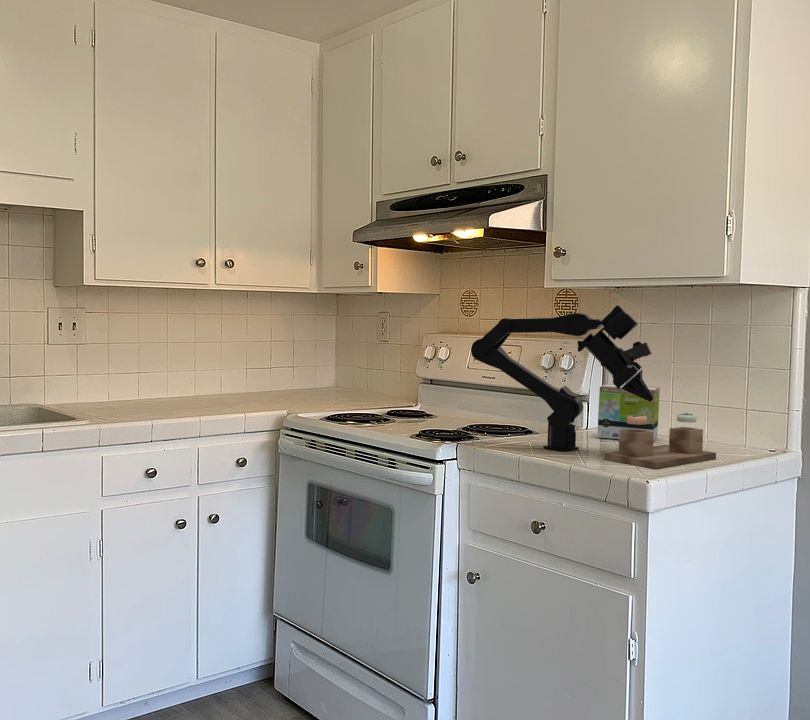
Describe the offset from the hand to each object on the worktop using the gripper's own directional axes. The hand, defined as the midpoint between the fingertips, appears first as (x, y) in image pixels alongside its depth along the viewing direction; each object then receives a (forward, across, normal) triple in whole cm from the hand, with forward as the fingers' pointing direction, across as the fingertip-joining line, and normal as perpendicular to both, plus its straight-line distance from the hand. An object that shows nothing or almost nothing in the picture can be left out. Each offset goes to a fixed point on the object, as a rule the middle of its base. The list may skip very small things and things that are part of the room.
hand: (652, 399), depth 193 cm
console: (+11, -5, +8) cm, 15 cm away
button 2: (+9, 0, -2) cm, 9 cm away
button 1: (+1, -10, +5) cm, 11 cm away
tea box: (+5, +26, +15) cm, 31 cm away
